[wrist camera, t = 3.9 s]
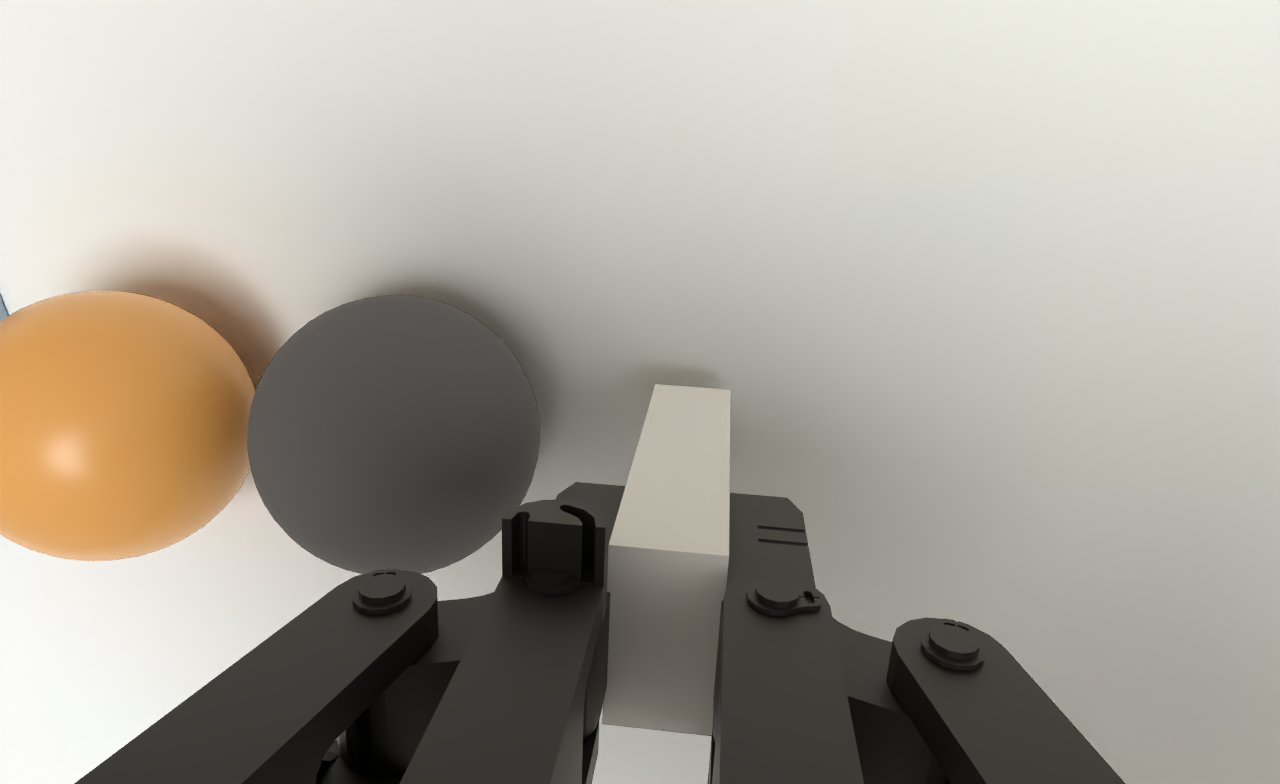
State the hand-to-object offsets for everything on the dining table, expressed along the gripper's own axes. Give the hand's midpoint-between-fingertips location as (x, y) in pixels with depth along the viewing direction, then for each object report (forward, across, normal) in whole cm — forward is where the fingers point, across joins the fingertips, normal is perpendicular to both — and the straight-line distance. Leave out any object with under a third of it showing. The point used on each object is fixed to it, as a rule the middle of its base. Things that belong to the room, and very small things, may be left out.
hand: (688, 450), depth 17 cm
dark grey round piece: (-1, +6, 0) cm, 6 cm away
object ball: (-1, +12, 0) cm, 12 cm away
